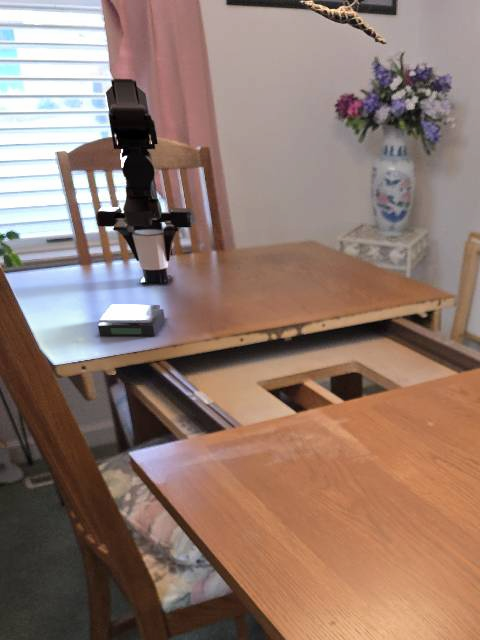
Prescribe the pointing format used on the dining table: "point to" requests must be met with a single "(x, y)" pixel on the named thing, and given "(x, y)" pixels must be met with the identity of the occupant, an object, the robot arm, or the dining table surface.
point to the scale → (133, 327)
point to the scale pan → (130, 314)
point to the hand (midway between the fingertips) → (153, 260)
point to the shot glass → (150, 248)
